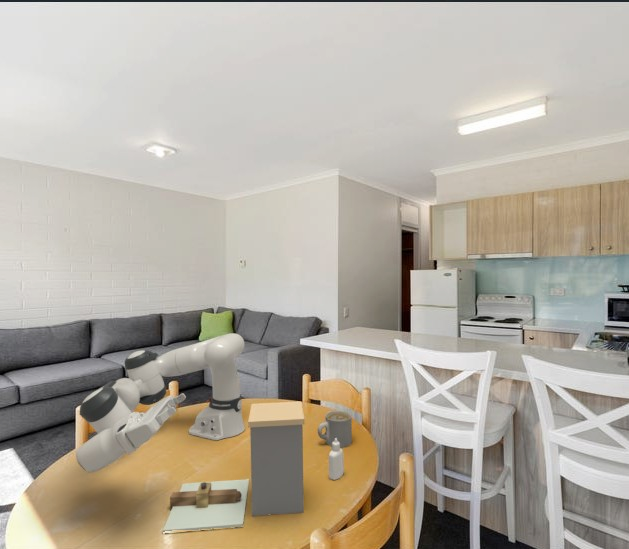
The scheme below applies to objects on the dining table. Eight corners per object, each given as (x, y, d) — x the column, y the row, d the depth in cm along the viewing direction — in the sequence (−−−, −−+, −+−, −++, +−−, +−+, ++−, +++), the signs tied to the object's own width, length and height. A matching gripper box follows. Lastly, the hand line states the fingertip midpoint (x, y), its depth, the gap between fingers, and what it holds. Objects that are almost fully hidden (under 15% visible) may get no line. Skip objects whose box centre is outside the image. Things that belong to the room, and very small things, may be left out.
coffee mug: (347, 434, 146) (347, 409, 146) (355, 446, 136) (354, 419, 136) (314, 437, 144) (314, 412, 143) (320, 450, 134) (319, 423, 134)
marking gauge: (168, 509, 100) (168, 490, 100) (174, 498, 105) (174, 480, 105) (240, 505, 102) (240, 487, 102) (242, 494, 107) (242, 476, 107)
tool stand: (249, 517, 98) (248, 421, 98) (253, 488, 111) (251, 403, 110) (305, 513, 100) (304, 418, 99) (302, 485, 113) (301, 401, 112)
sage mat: (162, 534, 93) (162, 530, 93) (183, 486, 112) (183, 483, 112) (242, 527, 95) (242, 523, 95) (249, 482, 114) (249, 479, 114)
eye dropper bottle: (325, 474, 118) (325, 437, 118) (341, 470, 120) (340, 434, 120) (331, 481, 114) (330, 443, 114) (347, 477, 116) (346, 439, 116)
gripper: (154, 422, 111) (194, 398, 112) (127, 458, 91) (176, 427, 92) (143, 405, 110) (183, 380, 111) (112, 437, 90) (162, 406, 91)
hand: (180, 402), depth 101 cm, fingers open, 8 cm apart
